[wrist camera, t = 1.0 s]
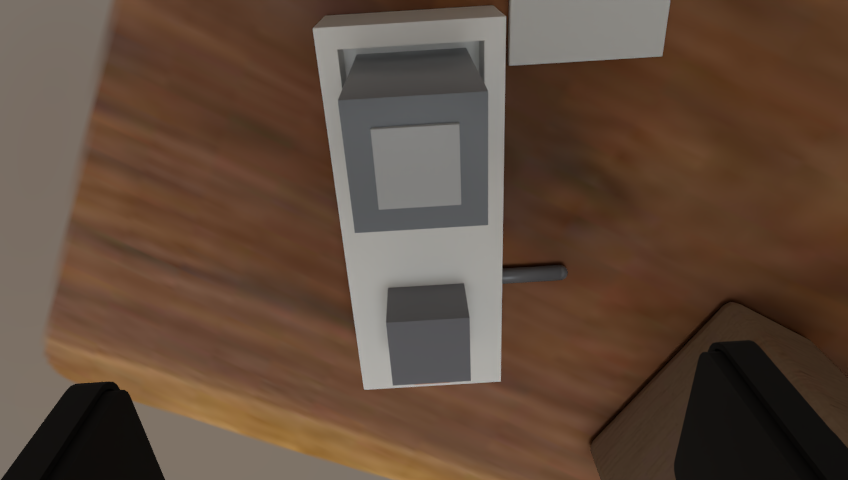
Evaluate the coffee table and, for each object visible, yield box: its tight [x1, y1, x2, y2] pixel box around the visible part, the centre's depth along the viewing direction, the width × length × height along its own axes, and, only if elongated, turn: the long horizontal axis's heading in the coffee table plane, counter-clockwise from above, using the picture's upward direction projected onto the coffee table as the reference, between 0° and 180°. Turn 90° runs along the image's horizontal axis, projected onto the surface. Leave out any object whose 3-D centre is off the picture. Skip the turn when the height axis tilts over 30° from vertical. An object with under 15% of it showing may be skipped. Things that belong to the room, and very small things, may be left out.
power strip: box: [313, 5, 568, 390], centre depth 28 cm, size 12×20×7 cm, turn 3°
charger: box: [338, 48, 488, 233], centre depth 23 cm, size 5×5×8 cm
